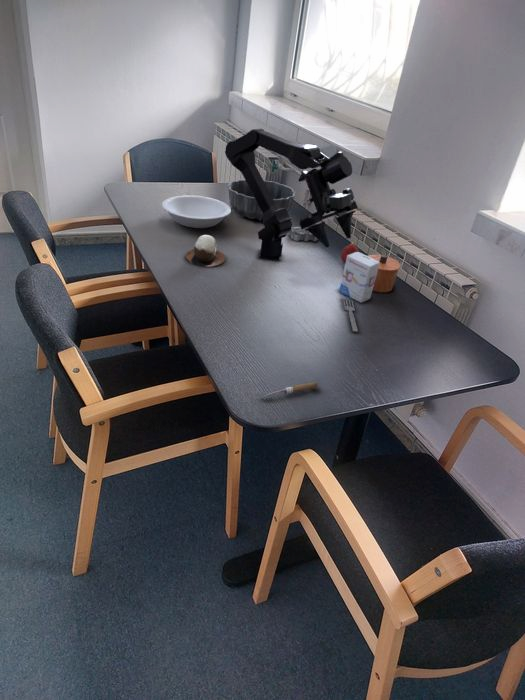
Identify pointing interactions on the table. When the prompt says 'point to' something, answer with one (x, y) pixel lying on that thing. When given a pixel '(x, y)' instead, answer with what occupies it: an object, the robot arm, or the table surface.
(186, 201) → the soup bowl
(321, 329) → the table surface
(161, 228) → the table surface
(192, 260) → the brown and cream dessert
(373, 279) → the ink box
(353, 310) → the fork
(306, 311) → the table surface
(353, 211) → the robot arm
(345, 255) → the onion
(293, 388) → the folding knife
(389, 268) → the pot lid
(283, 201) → the bundt pan
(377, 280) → the pot
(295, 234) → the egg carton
